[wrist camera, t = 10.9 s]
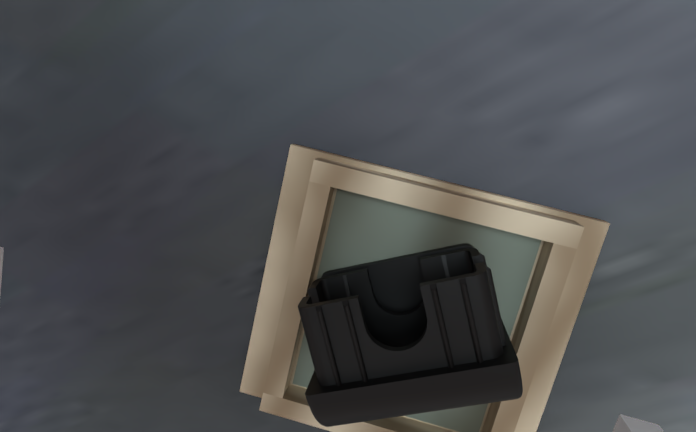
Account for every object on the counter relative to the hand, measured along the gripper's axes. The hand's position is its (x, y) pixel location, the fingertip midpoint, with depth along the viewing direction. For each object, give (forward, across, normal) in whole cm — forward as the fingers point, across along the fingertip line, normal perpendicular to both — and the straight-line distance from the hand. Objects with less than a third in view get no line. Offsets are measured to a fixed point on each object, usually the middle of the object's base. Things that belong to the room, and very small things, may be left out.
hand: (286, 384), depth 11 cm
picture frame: (+20, +4, -6) cm, 21 cm away
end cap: (+19, +4, -6) cm, 20 cm away
